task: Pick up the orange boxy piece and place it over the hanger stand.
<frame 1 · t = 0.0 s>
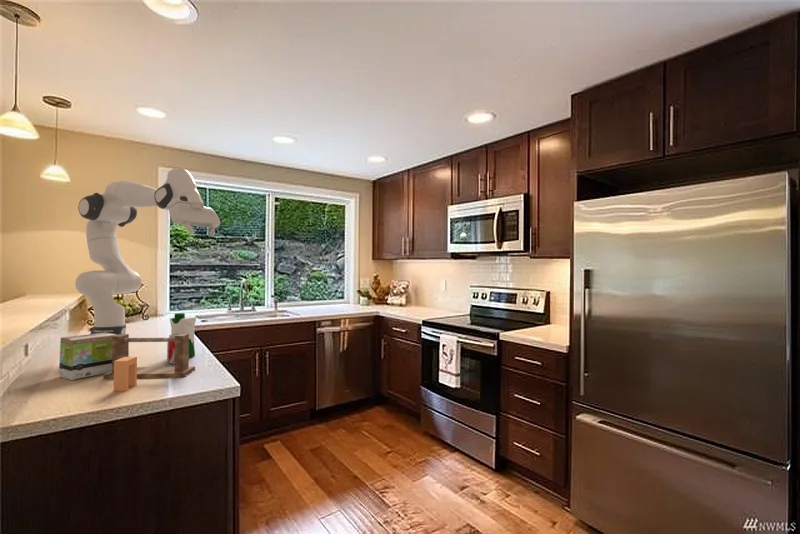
hand: (203, 234, 153), 54 cm above the counter, tool tilted 30°, fingers open, 8 cm apart
milk carton: (183, 357, 176), on the counter
tea box: (89, 374, 148), on the counter
soda can: (176, 363, 166), on the counter
orange boxy piece: (125, 388, 132), on the counter
hanger stand: (151, 374, 148), on the counter
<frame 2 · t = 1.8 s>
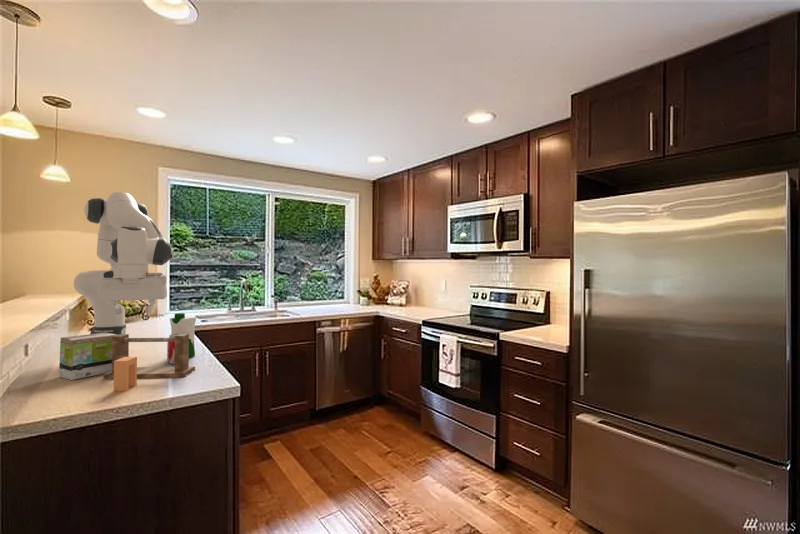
hand: (133, 313, 132), 25 cm above the counter, tool pointing down, fingers open, 8 cm apart
nothing on the counter moved.
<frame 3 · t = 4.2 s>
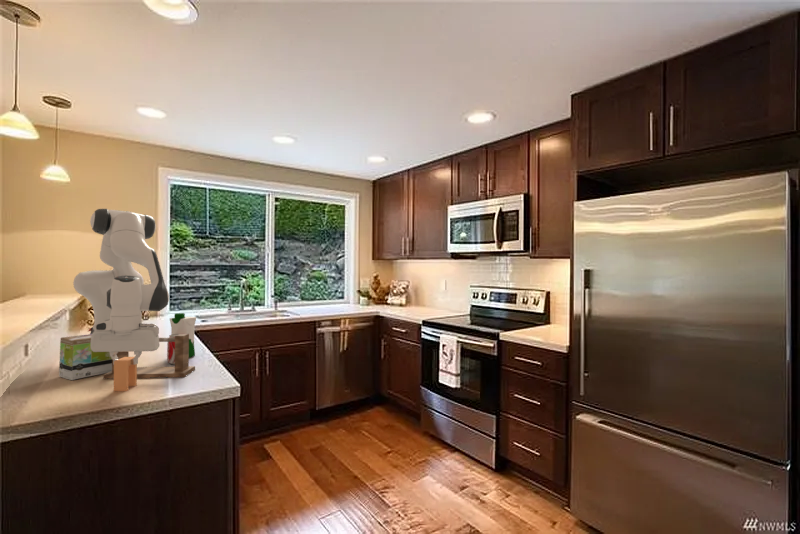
hand: (125, 364, 132), 8 cm above the counter, tool pointing down, fingers closed on orange boxy piece, 4 cm apart
orange boxy piece: (125, 388, 132), on the counter, touching gripper
everything else where it was.
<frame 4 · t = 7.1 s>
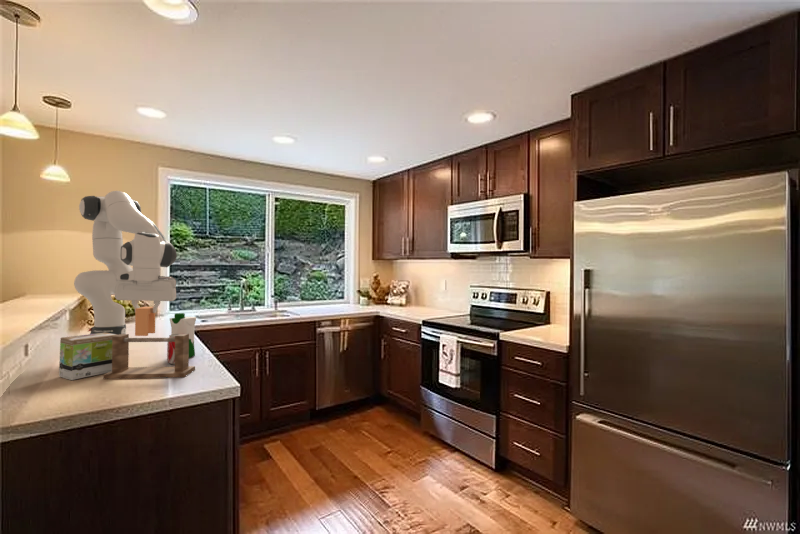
hand: (145, 312, 145), 24 cm above the counter, tool pointing down, fingers closed on orange boxy piece, 4 cm apart
orange boxy piece: (145, 334, 145), point 16 cm above the counter, touching gripper
everything else where it was.
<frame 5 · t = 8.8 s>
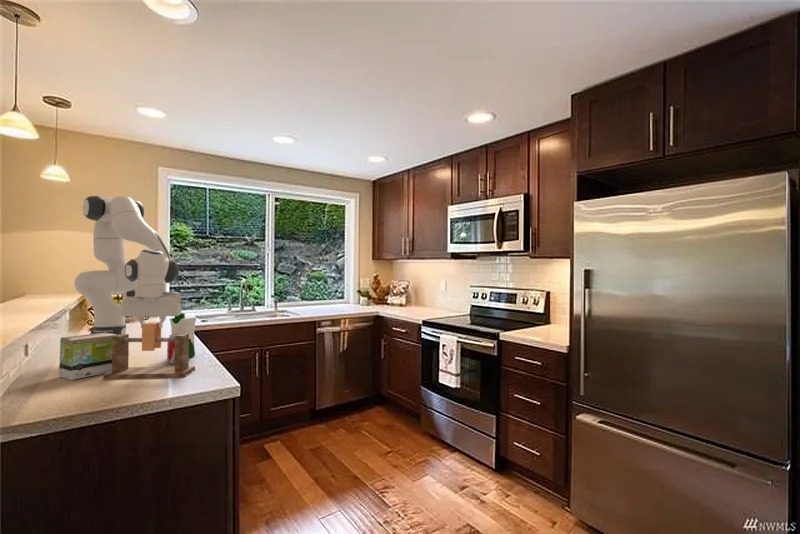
hand: (151, 328, 148), 18 cm above the counter, tool pointing down, fingers closed on orange boxy piece, 4 cm apart
orange boxy piece: (151, 349, 148), point 10 cm above the counter, touching gripper
everything else where it was.
when the fingers open (16 cm above the counter, at t = 10.0 s): orange boxy piece drops 1 cm, resting on hanger stand.
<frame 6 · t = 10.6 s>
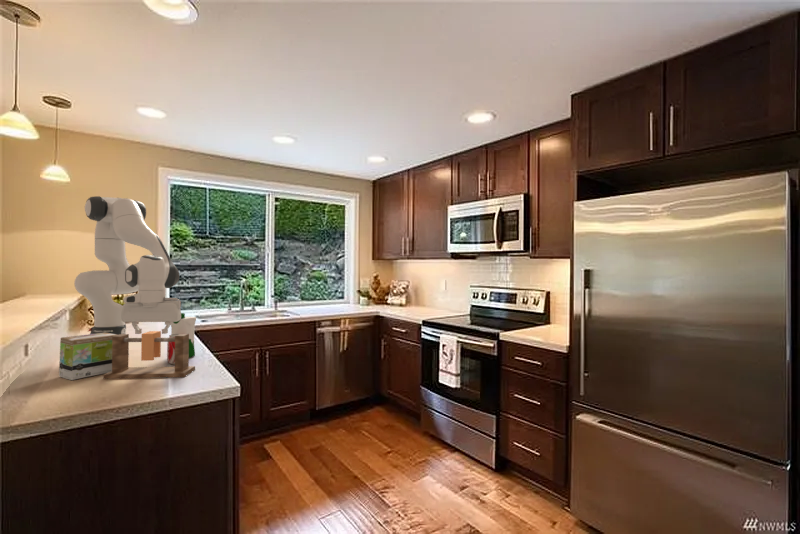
hand: (151, 333, 148), 16 cm above the counter, tool pointing down, fingers open, 8 cm apart
orange boxy piece: (151, 358, 148), point 6 cm above the counter, touching hanger stand
everything else where it was.
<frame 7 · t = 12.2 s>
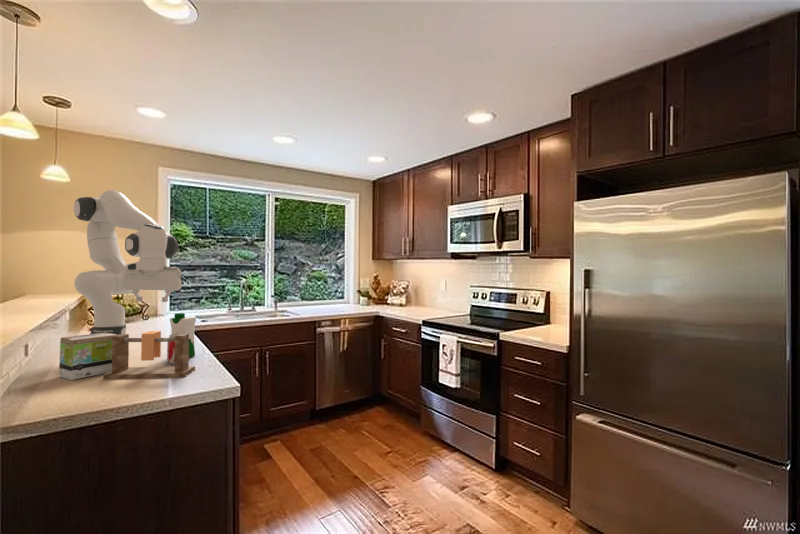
hand: (152, 301, 151), 28 cm above the counter, tool pointing down, fingers open, 8 cm apart
nothing on the counter moved.
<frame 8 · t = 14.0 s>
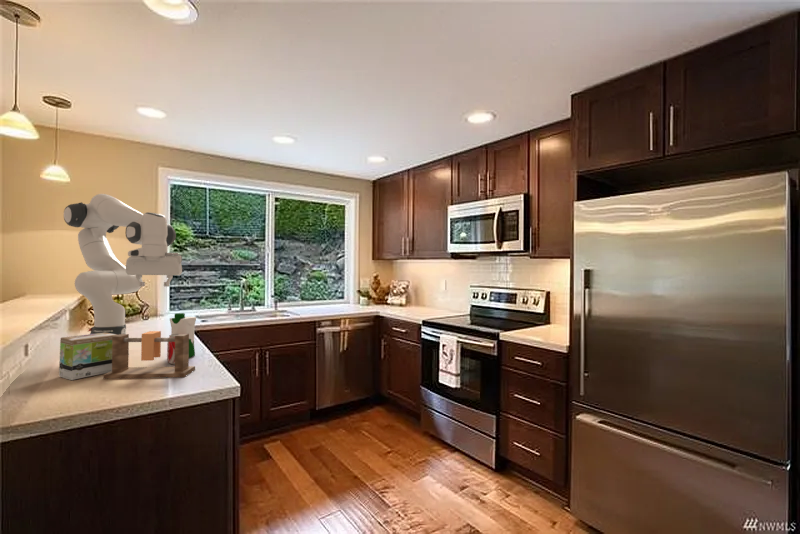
hand: (154, 286, 158), 33 cm above the counter, tool pointing down, fingers open, 8 cm apart
nothing on the counter moved.
at the end: orange boxy piece inside the target area on the hanger stand (0.1 cm from its centre), point 6.0 cm above the hanger stand's base; the gripper is holding nothing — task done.
